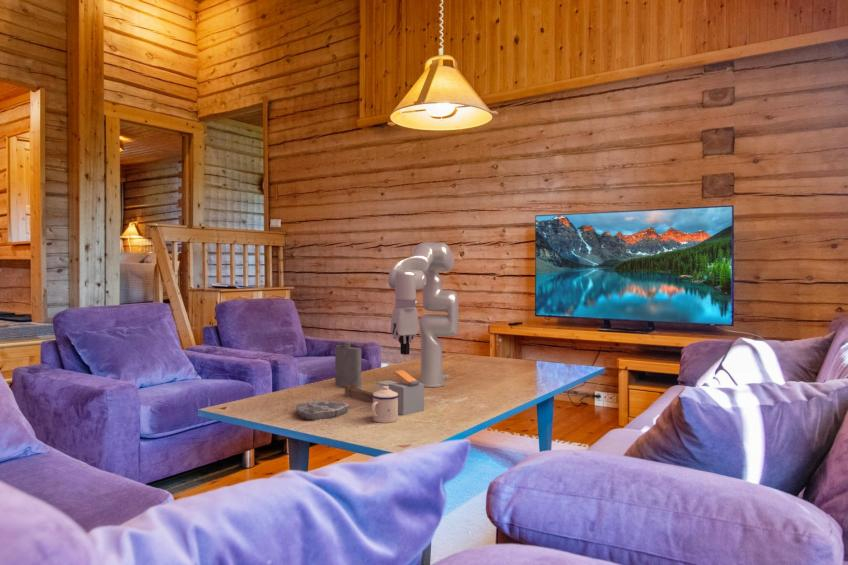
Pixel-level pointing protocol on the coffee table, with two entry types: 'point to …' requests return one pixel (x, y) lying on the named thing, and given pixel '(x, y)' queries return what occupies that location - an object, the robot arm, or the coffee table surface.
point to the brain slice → (321, 409)
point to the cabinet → (409, 397)
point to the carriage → (384, 384)
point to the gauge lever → (406, 378)
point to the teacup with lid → (385, 405)
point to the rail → (358, 393)
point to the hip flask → (347, 365)
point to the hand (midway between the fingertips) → (404, 354)
